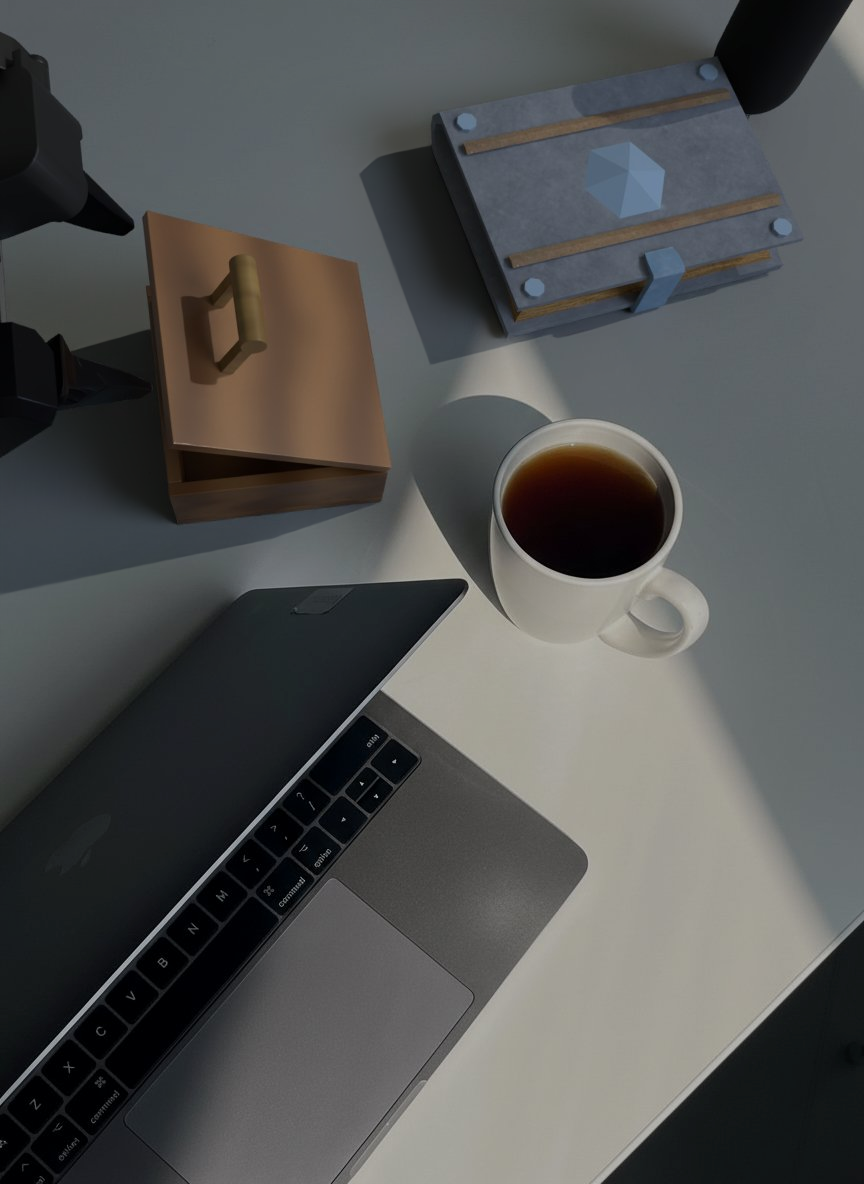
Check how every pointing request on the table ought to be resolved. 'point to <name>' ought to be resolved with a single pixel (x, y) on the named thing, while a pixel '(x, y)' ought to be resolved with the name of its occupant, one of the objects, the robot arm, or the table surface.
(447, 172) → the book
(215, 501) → the chest
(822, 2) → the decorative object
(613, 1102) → the table surface
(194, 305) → the lid
